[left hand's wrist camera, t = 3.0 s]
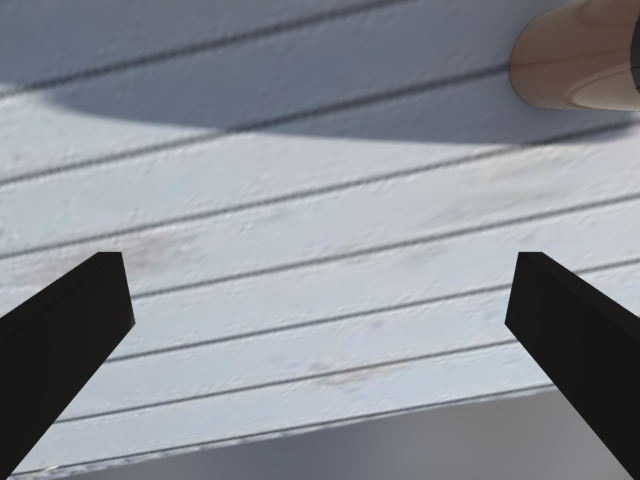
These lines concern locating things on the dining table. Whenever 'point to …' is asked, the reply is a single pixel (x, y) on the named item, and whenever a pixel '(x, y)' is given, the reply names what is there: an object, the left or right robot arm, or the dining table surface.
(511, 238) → the dining table surface
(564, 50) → the jar
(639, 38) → the lid
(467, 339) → the dining table surface
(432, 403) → the dining table surface
